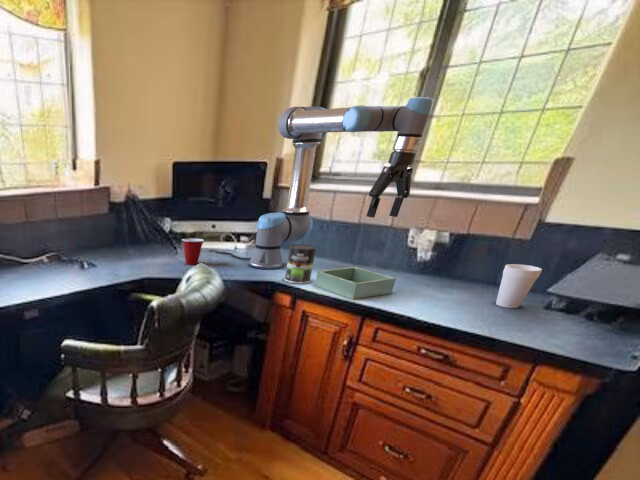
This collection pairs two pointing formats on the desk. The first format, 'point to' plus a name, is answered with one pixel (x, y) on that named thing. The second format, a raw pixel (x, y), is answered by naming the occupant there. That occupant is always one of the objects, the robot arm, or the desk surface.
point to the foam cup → (516, 284)
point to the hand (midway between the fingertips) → (381, 216)
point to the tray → (355, 282)
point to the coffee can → (300, 263)
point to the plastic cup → (192, 250)
